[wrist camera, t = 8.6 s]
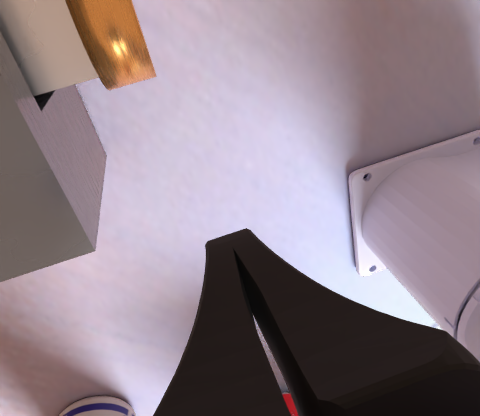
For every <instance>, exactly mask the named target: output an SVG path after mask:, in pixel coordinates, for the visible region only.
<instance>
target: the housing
mask: <svg viewBox="0 0 480 416" xmlns="http://www.w3.org/2000/svg"><path fill="white" fill-rule="evenodd" d="M106 157H107V156H106V153H105V151H104V149H103V147H102V144H101V142H100V140H99V138H98V135H97V133H96V131H95V129H94V126H93V124H92V122H91V120H90V117H89V115H88V113H87V111H86V108H85V106H84V104H83V102H82V99H81V97H80V95H79V93H78V90H77V88H76V86H75V84H74V85H71V86H67V87H64V88H60V89H57V90H53V91H50V92H46V93H43V94H39V95H36V96H33V95H32V93H31V91H30V89H29V87H28V85H27V83H26V81H25V79H24V77H23V75H22V73H21V71H20V69H19V67H18V65H17V63H16V61H15V59H14V57H13V55H12V53H11V51H10V49H9V47H8V45H7V43H6V41H5V39H4V37H3V35H2V33H1V32H0V282H2V281H5V280H8V279H11V278H14V277H17V276H20V275H23V274H26V273H30V272H33V271H36V270H39V269H42V268H45V267H48V266H51V265H54V264H57V263H60V262H63V261H66V260H69V259H72V258H75V257H78V256H82V255H85V254H88V253H91V252H94V251H95V249H96V241H97V232H98V224H99V216H100V207H101V199H102V190H103V182H104V173H105V165H106Z"/></svg>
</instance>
